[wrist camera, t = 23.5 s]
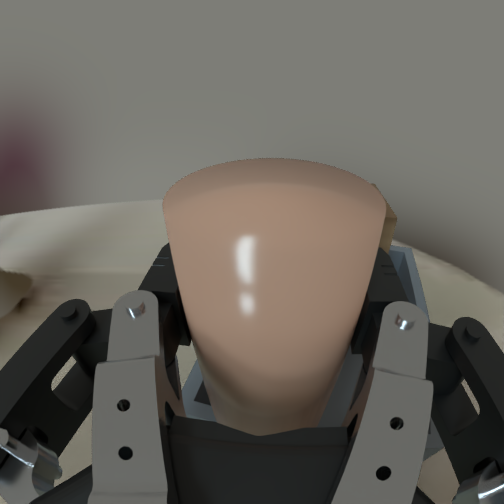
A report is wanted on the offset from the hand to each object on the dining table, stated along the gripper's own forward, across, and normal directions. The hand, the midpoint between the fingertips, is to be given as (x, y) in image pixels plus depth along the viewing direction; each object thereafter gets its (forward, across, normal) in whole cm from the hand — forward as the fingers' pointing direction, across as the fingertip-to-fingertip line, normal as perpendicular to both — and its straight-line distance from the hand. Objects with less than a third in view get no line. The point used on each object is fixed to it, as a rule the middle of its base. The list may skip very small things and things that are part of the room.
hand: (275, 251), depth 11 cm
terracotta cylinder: (-3, 0, +6) cm, 7 cm away
